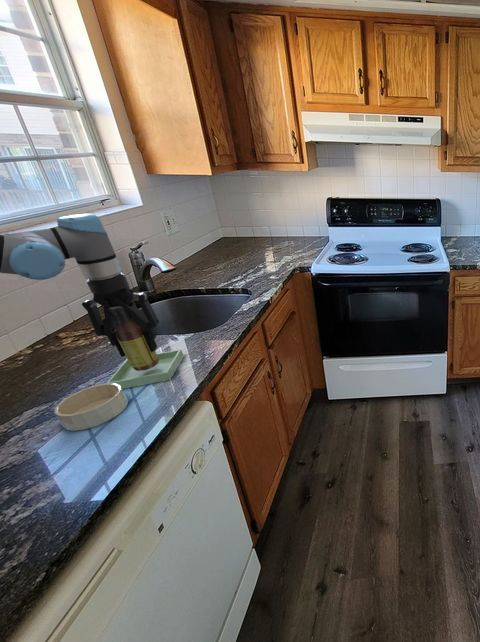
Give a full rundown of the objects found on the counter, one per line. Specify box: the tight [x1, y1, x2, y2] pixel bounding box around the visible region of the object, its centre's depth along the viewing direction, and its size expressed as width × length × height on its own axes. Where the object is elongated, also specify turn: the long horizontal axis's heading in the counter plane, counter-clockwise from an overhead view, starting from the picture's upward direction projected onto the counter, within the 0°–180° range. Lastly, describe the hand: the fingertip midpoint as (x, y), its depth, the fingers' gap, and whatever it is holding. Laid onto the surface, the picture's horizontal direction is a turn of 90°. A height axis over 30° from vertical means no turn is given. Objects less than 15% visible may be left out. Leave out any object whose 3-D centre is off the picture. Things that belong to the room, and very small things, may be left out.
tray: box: [106, 348, 185, 390], centre depth 106 cm, size 14×13×2 cm
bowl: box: [54, 382, 129, 432], centre depth 90 cm, size 12×12×4 cm
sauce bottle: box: [108, 306, 159, 371], centre depth 101 cm, size 6×6×20 cm
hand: (139, 351), depth 104 cm, fingers closed on sauce bottle, 6 cm apart
